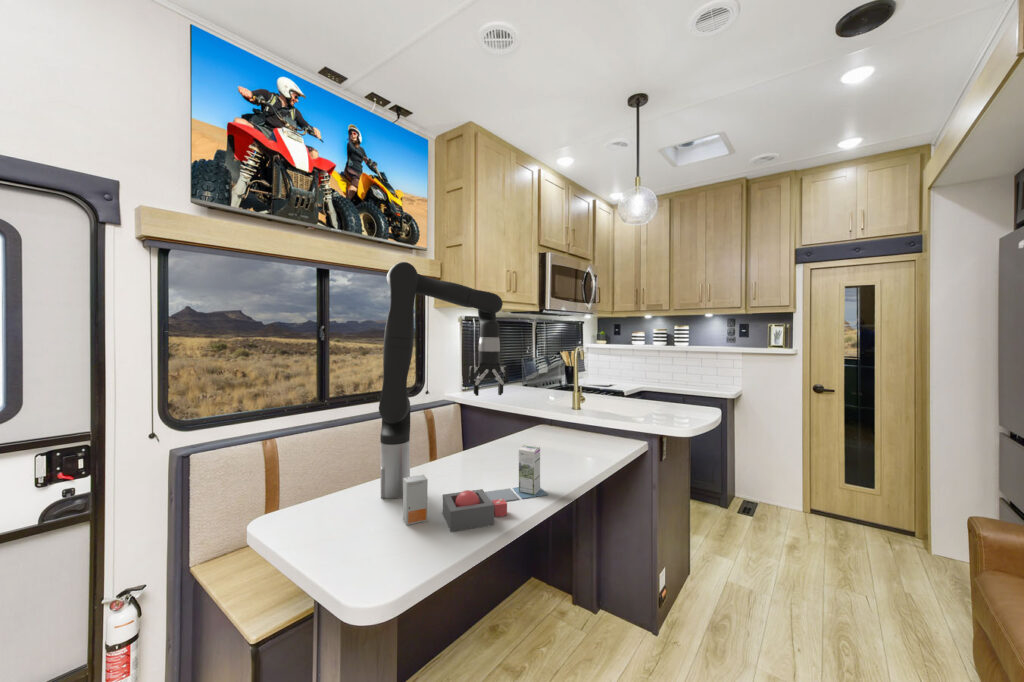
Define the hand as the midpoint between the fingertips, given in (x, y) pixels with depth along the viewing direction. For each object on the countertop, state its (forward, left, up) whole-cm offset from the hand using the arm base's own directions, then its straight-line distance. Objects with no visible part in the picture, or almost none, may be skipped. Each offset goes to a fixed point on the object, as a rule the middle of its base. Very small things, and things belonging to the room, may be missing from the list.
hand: (488, 395), depth 145 cm
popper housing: (-12, -28, -30) cm, 43 cm away
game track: (0, -16, -30) cm, 34 cm away
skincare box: (-28, -24, -31) cm, 48 cm away
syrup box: (+9, -16, -30) cm, 35 cm away
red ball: (-14, -28, -30) cm, 43 cm away
